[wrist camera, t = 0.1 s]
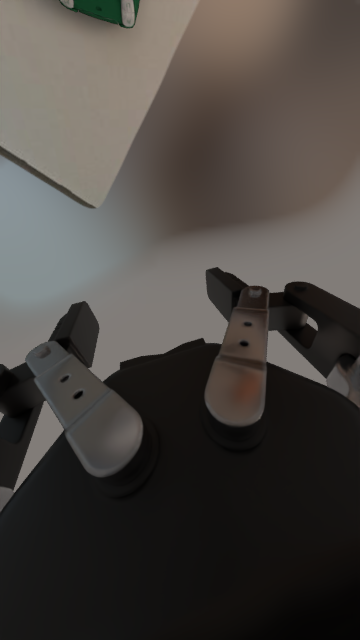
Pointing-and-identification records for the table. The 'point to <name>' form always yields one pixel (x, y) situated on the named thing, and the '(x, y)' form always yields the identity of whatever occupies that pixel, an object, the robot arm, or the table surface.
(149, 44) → the table surface
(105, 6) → the gaming controller
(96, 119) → the table surface
